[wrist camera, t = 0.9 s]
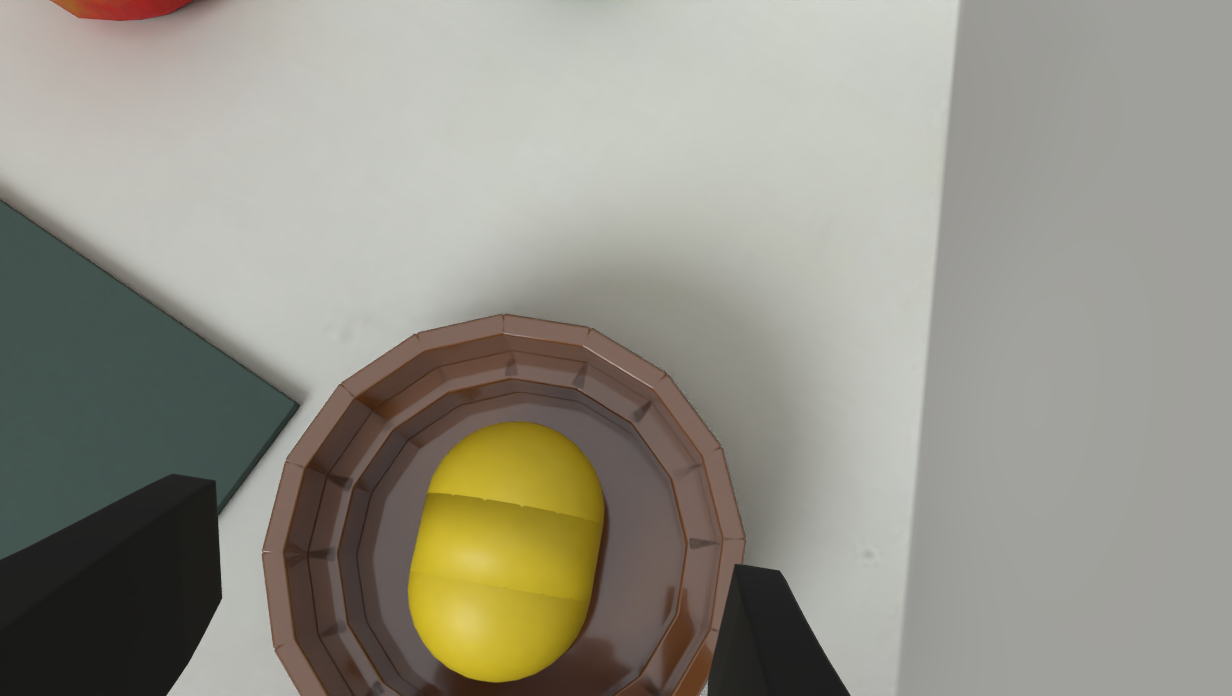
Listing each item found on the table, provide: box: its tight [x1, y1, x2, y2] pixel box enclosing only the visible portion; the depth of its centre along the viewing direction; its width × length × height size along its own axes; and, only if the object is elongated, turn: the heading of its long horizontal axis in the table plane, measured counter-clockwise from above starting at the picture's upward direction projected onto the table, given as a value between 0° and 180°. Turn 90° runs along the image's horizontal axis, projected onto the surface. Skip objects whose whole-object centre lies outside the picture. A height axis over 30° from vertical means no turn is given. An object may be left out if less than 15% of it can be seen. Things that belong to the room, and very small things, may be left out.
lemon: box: [408, 421, 605, 682], centre depth 25 cm, size 7×5×5 cm
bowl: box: [262, 314, 746, 696], centre depth 26 cm, size 12×12×4 cm
